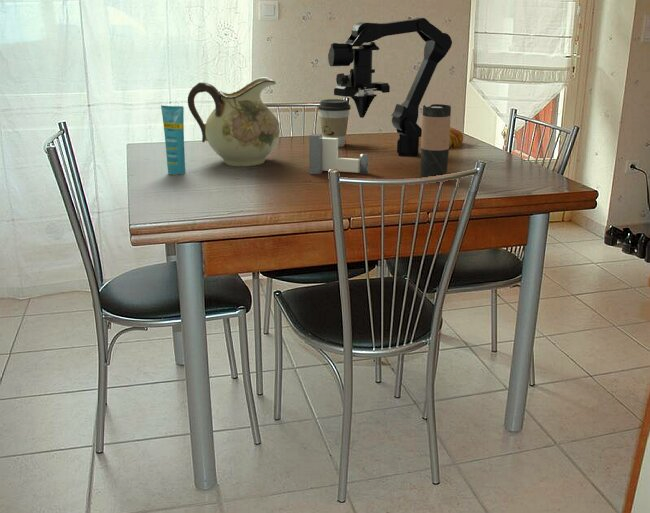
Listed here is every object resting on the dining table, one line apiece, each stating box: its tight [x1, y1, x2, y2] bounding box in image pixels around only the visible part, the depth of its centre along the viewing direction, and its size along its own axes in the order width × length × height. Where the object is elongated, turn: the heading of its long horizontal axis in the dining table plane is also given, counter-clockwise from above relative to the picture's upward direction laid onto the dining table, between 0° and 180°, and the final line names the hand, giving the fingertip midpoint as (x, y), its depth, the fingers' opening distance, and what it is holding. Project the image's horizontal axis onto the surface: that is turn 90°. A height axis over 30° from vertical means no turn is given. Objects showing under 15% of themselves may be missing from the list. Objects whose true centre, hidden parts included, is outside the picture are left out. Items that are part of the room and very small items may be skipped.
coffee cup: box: [317, 98, 352, 148], centre depth 246 cm, size 11×11×15 cm
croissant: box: [421, 126, 464, 149], centre depth 248 cm, size 14×16×8 cm
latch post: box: [308, 133, 323, 175], centre depth 206 cm, size 3×3×11 cm
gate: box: [322, 137, 360, 173], centre depth 208 cm, size 14×2×9 cm, turn 74°
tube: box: [160, 104, 186, 176], centre depth 205 cm, size 7×5×19 cm, turn 72°
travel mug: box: [420, 103, 452, 178], centre depth 198 cm, size 8×8×20 cm
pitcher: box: [187, 76, 281, 167], centre depth 218 cm, size 22×24×25 cm
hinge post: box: [359, 153, 370, 175], centre depth 207 cm, size 2×2×6 cm
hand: (361, 117), depth 225 cm, fingers closed
